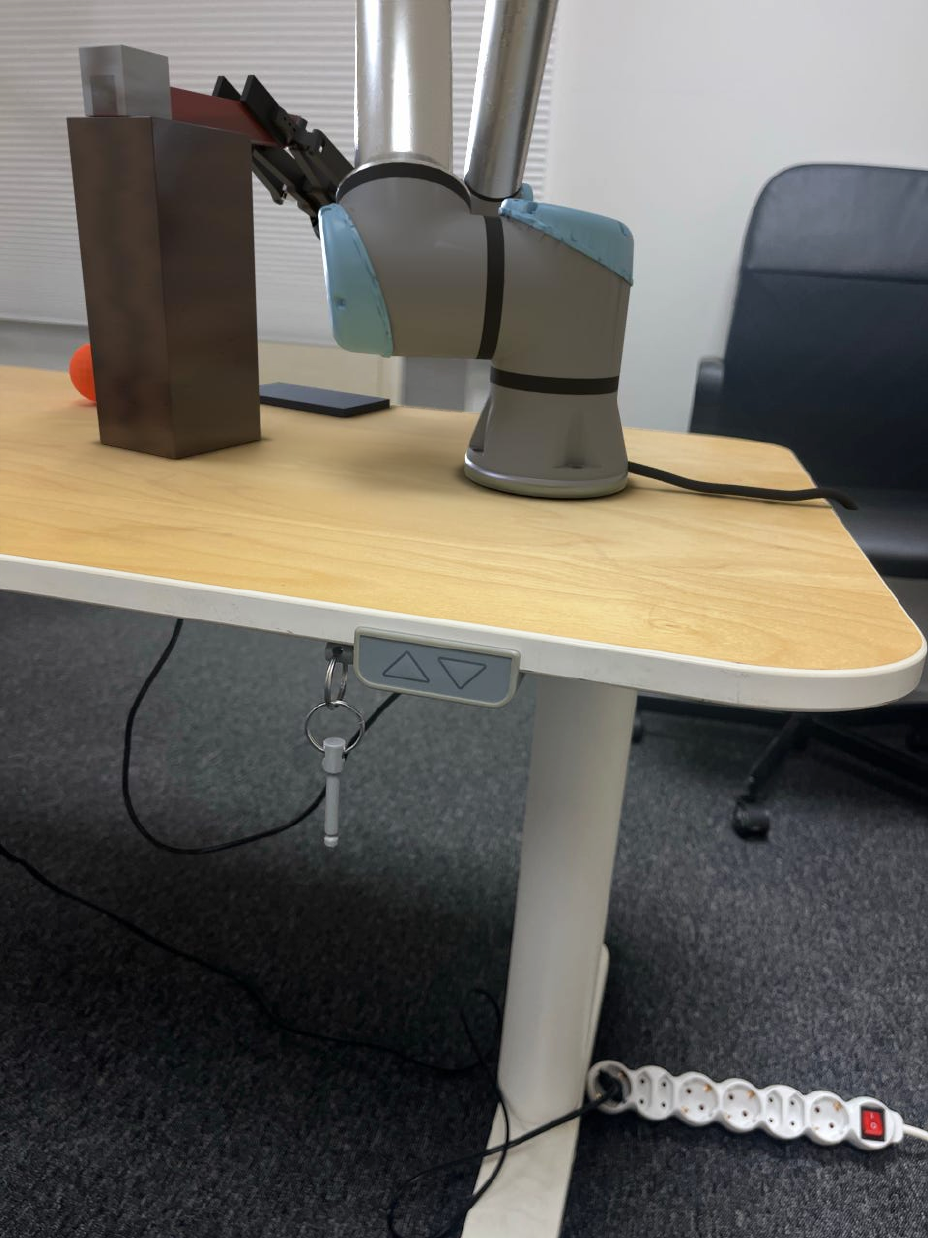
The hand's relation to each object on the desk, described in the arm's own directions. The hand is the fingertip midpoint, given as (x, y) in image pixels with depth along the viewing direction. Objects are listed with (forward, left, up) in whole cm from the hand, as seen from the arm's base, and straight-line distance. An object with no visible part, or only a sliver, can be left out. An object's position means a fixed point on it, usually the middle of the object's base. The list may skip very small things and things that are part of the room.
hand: (231, 88), depth 84 cm
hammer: (0, +3, -4) cm, 5 cm away
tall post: (0, +9, -32) cm, 33 cm away
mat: (+5, -18, -32) cm, 37 cm away
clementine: (+21, 0, -32) cm, 39 cm away
